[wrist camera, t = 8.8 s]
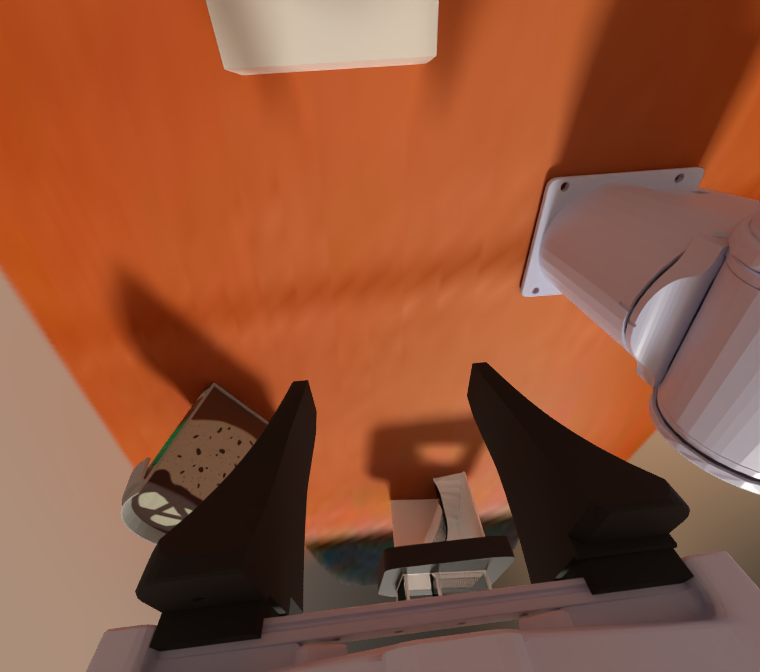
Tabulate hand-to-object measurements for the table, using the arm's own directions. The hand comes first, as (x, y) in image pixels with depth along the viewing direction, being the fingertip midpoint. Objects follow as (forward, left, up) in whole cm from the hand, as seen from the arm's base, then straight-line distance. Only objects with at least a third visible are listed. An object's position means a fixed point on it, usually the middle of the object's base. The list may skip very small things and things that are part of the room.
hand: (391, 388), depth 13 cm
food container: (+15, +14, -11) cm, 23 cm away
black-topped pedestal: (-4, +30, -11) cm, 32 cm away
